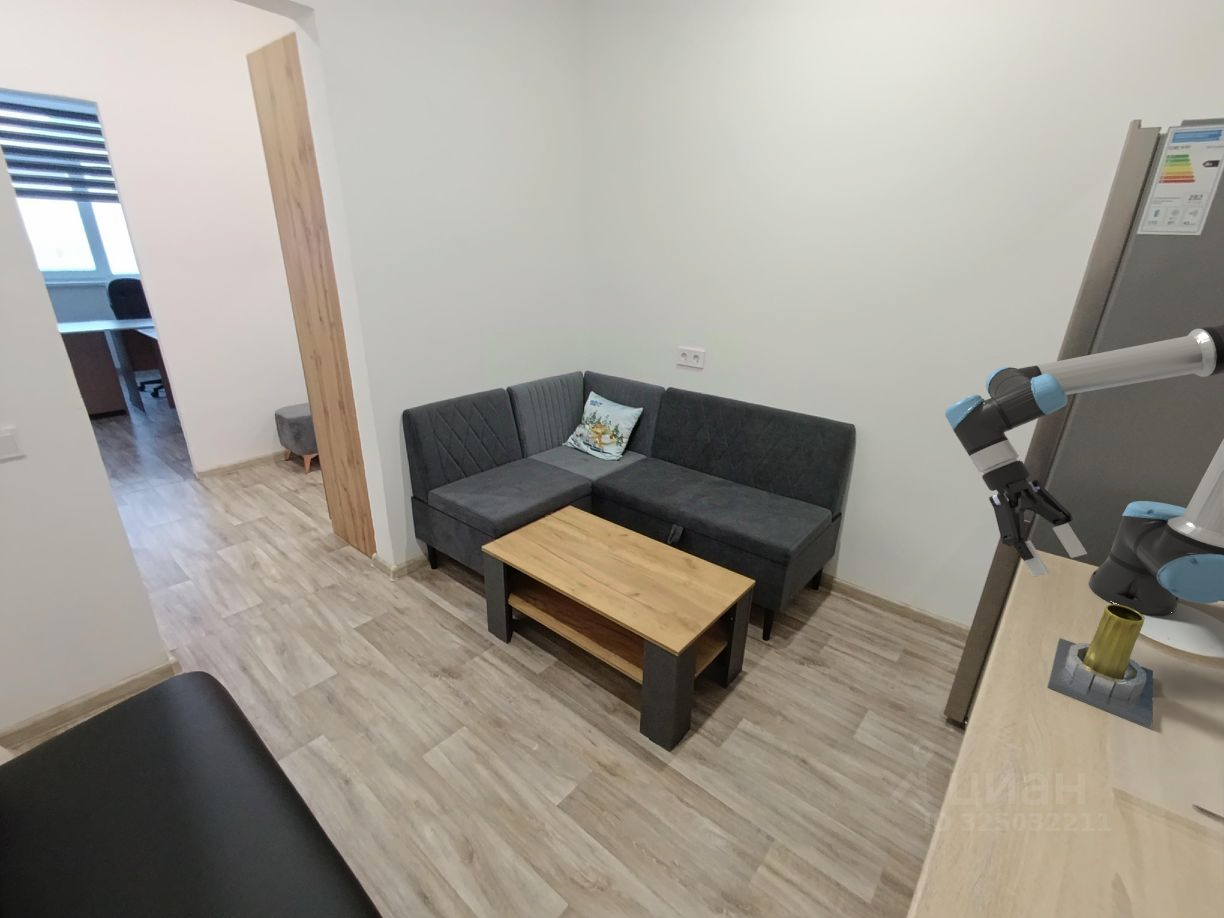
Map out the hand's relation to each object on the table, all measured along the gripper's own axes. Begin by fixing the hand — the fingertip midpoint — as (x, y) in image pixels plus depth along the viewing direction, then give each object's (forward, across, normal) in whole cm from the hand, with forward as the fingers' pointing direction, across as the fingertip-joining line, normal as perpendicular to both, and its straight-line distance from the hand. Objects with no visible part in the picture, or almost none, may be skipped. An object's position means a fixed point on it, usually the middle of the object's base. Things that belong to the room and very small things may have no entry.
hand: (1061, 565), depth 105 cm
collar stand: (+22, +1, -5) cm, 22 cm away
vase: (+21, +1, -4) cm, 21 cm away
